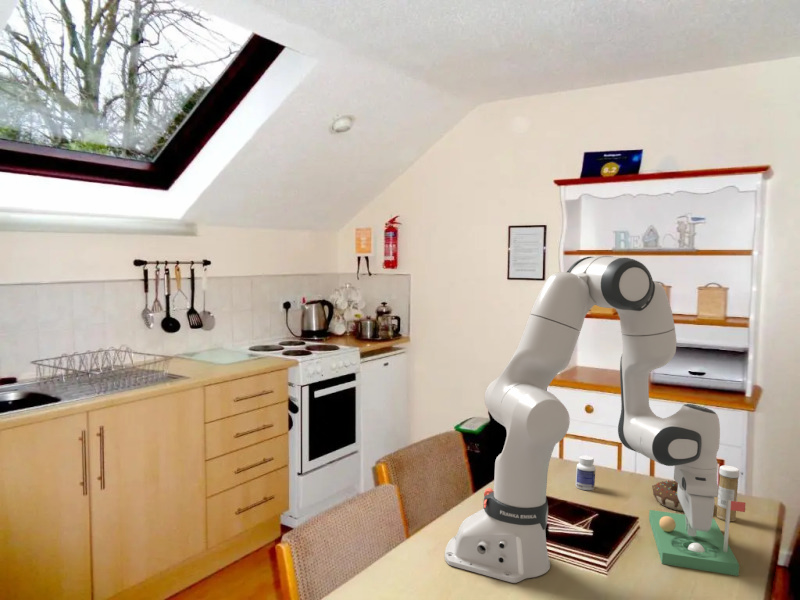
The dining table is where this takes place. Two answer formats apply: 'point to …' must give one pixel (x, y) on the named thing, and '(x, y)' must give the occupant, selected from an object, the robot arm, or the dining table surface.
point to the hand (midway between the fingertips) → (690, 533)
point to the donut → (667, 494)
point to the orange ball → (667, 523)
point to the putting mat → (713, 542)
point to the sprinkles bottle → (727, 490)
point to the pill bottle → (585, 473)
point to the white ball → (696, 547)
